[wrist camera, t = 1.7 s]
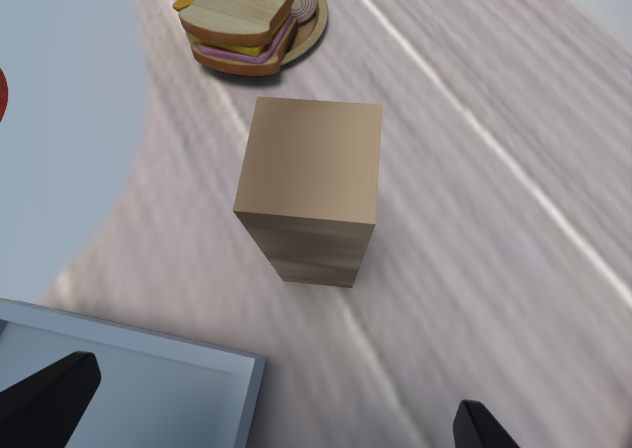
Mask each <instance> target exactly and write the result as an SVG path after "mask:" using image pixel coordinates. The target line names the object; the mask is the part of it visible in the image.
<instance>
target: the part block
mask: <svg viewBox="0 0 632 448" xmlns="http://www.w3.org/2000/svg"><path fill="white" fill-rule="evenodd" d="M381 120H382V105H376V104H361V103H346V102H331V101H316V100H301V99H286V98H271V97H257V101H256V106H255V111H254V115H253V120H252V124H251V129H250V134H249V138H248V143H247V148H246V152H245V157H244V162H243V166H242V171H241V176H240V180H239V185H238V190H237V194H236V199H235V204H234V208H233V212H234V213H235V214H236V216H237V217H238V218H239V220H240V221H241V223H242V224H243V225H244V227H245V228H246V230H247V231H248V232H249V234H250V235H251V237H252V238H253V239H254V241H255V242H256V244H257V245H258V246H259V248H260V249H261V251H262V252H263V253H264V255H265V256H266V258H267V259H268V260H269V262H270V263H271V265H272V266H273V267H274V269H275V270H276V272H277V273H278V274H279V276H280V277H281V279H282V280H283V281H293V282H302V283H311V284H320V285H329V286H338V287H348V288H352V286H353V283H354V280H355V278H356V275H357V272H358V269H359V267H360V264H361V261H362V259H363V256H364V253H365V251H366V248H367V245H368V243H369V240H370V237H371V234H372V232H373V229H374V226H375V221H376V204H377V187H378V170H379V153H380V137H381Z"/></svg>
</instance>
